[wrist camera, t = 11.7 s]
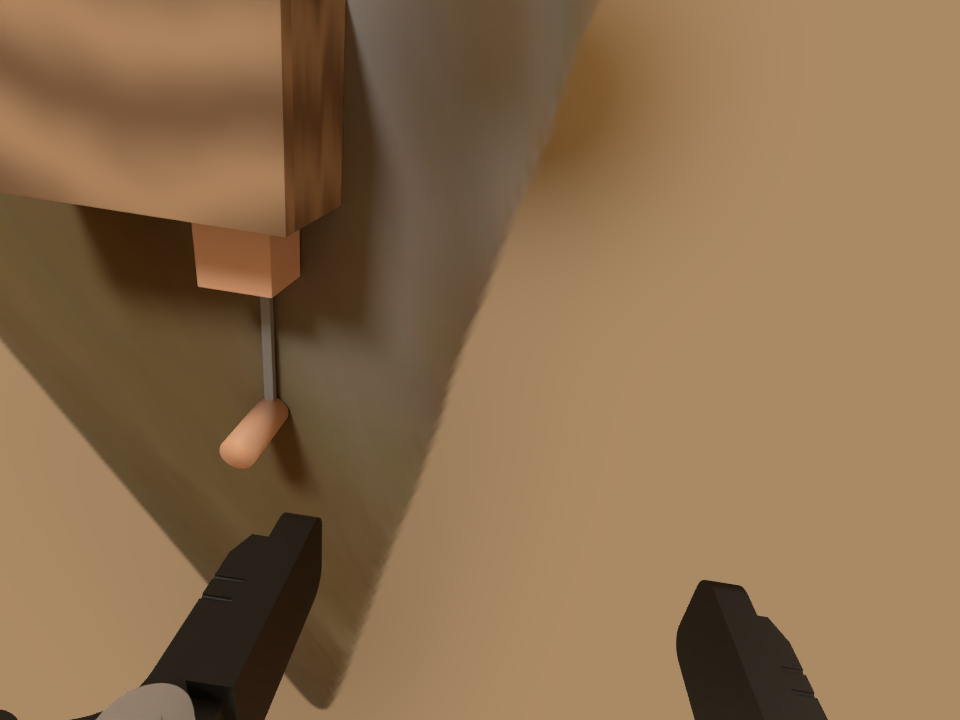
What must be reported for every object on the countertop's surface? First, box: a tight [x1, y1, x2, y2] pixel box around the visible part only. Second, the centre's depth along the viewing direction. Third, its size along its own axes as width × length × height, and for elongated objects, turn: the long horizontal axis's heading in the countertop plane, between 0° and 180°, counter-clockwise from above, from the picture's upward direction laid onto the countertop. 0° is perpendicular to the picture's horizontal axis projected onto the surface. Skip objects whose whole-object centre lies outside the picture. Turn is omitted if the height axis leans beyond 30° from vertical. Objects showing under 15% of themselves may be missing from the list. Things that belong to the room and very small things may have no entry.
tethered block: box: [191, 223, 300, 469], centre depth 37 cm, size 18×5×6 cm, turn 172°
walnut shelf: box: [0, 0, 346, 237], centre depth 29 cm, size 12×20×9 cm, turn 82°
